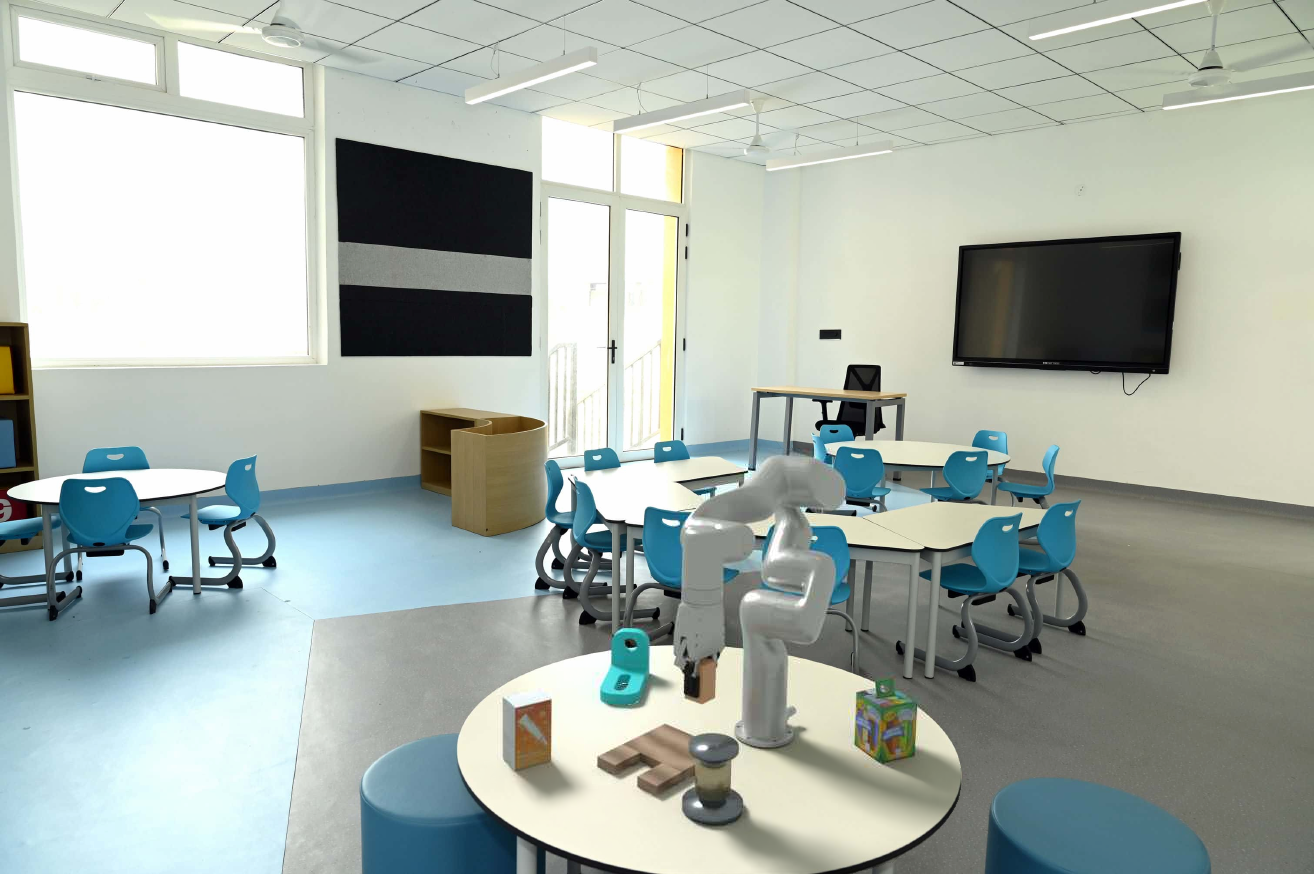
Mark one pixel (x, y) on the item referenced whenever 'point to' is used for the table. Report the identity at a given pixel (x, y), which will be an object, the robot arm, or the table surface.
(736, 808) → the bobbin
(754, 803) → the table surface
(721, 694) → the table surface
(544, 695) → the small box
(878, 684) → the chalk box
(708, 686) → the light orange block
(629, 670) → the bracket
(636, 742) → the notched board
